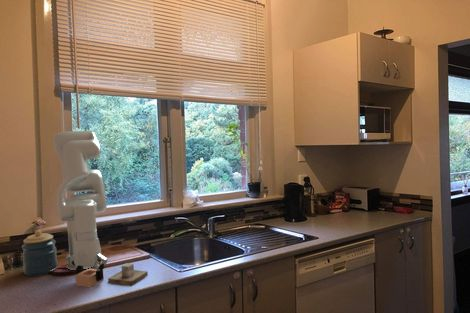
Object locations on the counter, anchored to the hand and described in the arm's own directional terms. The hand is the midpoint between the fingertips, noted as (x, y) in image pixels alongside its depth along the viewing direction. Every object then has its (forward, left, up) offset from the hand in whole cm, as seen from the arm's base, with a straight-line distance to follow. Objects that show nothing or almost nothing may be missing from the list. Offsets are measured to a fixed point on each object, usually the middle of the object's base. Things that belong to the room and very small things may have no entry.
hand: (89, 278), depth 142 cm
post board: (+12, +7, -1) cm, 14 cm away
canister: (-31, +5, -2) cm, 31 cm away
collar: (0, 0, -1) cm, 1 cm away
